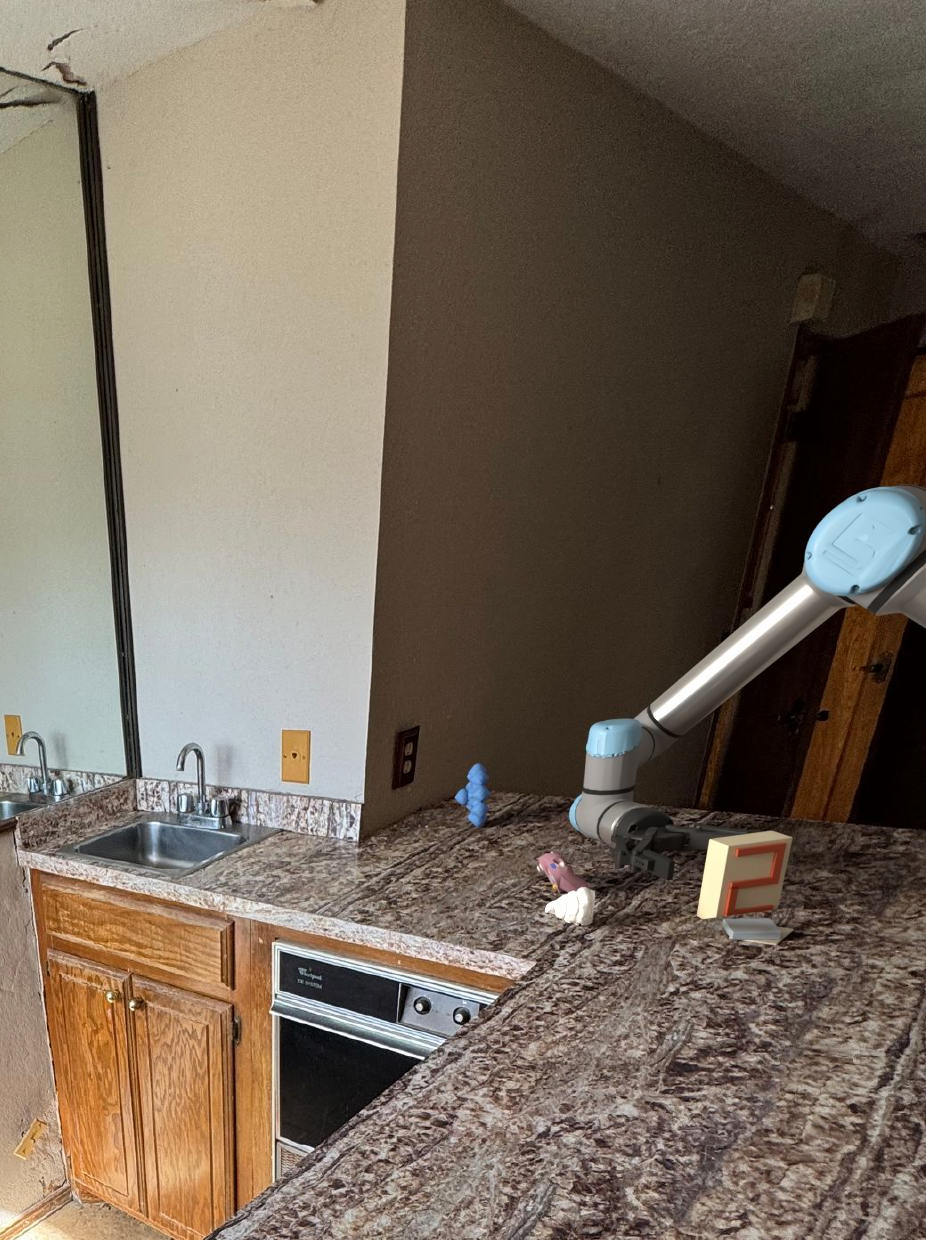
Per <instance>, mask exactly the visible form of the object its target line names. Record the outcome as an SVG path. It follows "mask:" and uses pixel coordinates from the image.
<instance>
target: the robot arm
mask: <svg viewBox="0 0 926 1240" xmlns="http://www.w3.org/2000/svg"><path fill="white" fill-rule="evenodd" d="M857 605H860V606H861V607H862V608H864V609H866V610H867V611H868V612H870V613H872V614H874V615H875V616H877V617H880V616H885V615H886V616H887V615H892V614H903V615H904V616H906V618H909V619H910V620H912V621H914V622H915V623H917V624H918V625H920V626H922V627H923V628H924V629H926V488H925V487H923V486H920V485H915V484H908V483H907V484H905V483H903V484H894V485H889V486H878V487H873V488H869V489H866V490H863V491H859V492H857V493H856V494H854V495H852V496H850V497H848V498H847V499H845V500H844V501H843V502H841V503H839V504H838V505H836V506H835V508H833V509H832V510H830V512H829V513H827V514H826V515H825V516H824V517H823V518H822V520H821V521H820V522H819V523H818V524H817V525H816V527H815V528H814V530H813V531H812V534H811V535H810V537H809V539H808V541H807V544H806V548H805V551H804V562H803V567H802V571H801V573H800V574H799V575H798V576H797V577H795V579H794V580H792V581H791V582H790V583H789V584H788V585H787V586H785V587H784V588H783V589H782V590H781V591H780V592H778V594H776V595H775V596H774V597H773V598H771V600H769V601H768V602H767V603H766V604H765V605H764V606H762V607H761V608H760V609H759V610H758V611H757V612H756V613H754V614H753V615H752V616H751V617H750V618H748V619H747V620H746V621H745V622H744V623H743V624H742V625H740V626H739V627H738V628H737V629H736V630H734V631H733V633H731V634H730V635H729V636H728V637H726V639H724V640H723V641H722V642H720V644H718V646H716V647H715V648H714V649H712V650H711V652H709V653H708V654H707V655H706V656H705V657H703V658H702V659H701V660H700V661H699V662H698V663H696V664H695V665H694V666H692V668H691V669H690V670H688V672H686V673H685V674H684V675H683V676H682V677H680V678H679V679H678V680H677V681H676V682H675V683H673V684H672V685H671V686H670V687H669V688H668V689H667V690H665V691H664V692H663V693H662V694H661V695H660V696H658V697H657V698H656V699H655V700H653V702H651V704H650V705H648V706H647V707H645V708H644V709H643V710H642V711H641V712H640V713H639V714H638V715H637V716H635V717H634V718H614V719H606V720H603V721H599V722H598V721H597V722H595V723H594V724H592V725H591V726H590V729H589V732H588V738H587V743H586V746H585V750H586V754H585V767H584V777H583V787H582V788H583V789H582V791H581V794H580V795H578V796H577V797H576V798H575V799H574V801H573V803H572V805H571V806H570V809H569V812H568V817H569V823H570V824H571V825H572V827H573V828H574V830H577V831H578V832H580V833H581V834H582V835H584V836H586V837H588V838H591V839H594V840H597V841H599V842H602V843H604V844H605V845H608V846H609V852H610V853H611V854H613V856H614V857H613V858H614V868H615V869H624V868H625V866H629V870H628V872H629V873H631V874H637V873H639V872H640V869H641V870H642V871H645V872H648V873H650V874H652V875H654V876H656V877H658V878H661V879H662V880H665V881H673V880H674V879H673V878H674V872H675V865H676V860H674V859H672V858H669V857H667V856H665V855H662V854H660V853H661V852H668V853H673V852H685V853H691V852H693V851H695V850H703V851H708V845H709V840H710V839H714V838H721V837H729V836H736V835H743V834H750V833H758V832H759V831H758V830H757V831H755V830H753V829H751V828H750V829H748V830H747V829H739V828H731V827H725V826H723V827H722V826H716V825H715V826H714V825H710V824H705V823H701V822H696V823H694V825H693V827H692V826H689V827H688V826H680V825H679V824H675V822H674V821H673V819H672V817H671V816H670V815H669V814H667V813H666V812H664V811H661V810H659V809H656V808H653V807H651V806H648V805H645V804H642V803H638V802H635V801H633V800H634V795H635V794H634V793H635V787H636V780H637V770H638V769H639V768H641V767H642V766H644V765H646V764H647V763H649V762H652V761H655V760H656V759H658V758H659V757H661V756H662V755H663V754H664V753H666V752H667V751H668V749H669V748H670V746H672V745H673V744H674V743H675V742H677V741H678V740H679V739H681V738H682V737H683V736H684V735H685V734H686V733H687V732H689V731H690V730H691V729H693V727H695V726H696V725H698V724H699V723H700V722H701V721H702V720H704V719H705V718H706V717H707V716H709V715H710V714H711V713H713V712H714V711H715V710H716V709H717V708H719V707H720V706H721V705H722V704H724V703H725V702H726V701H728V700H729V699H730V698H731V697H732V696H734V695H735V694H736V693H737V692H738V691H740V690H741V689H742V688H743V687H745V686H746V685H747V684H748V683H750V682H751V681H753V679H754V678H756V677H757V676H758V675H760V674H761V673H763V671H765V670H766V669H767V668H768V667H770V666H771V665H772V664H773V663H775V662H776V661H777V660H778V659H780V658H781V657H782V656H784V655H785V654H786V653H787V652H788V651H789V650H791V649H792V648H793V647H794V646H796V645H797V644H799V642H801V641H802V640H803V639H804V638H806V637H807V636H808V635H809V634H810V633H812V632H813V631H814V630H815V629H817V628H818V627H820V625H822V624H823V623H825V621H827V620H828V619H829V618H831V617H832V616H833V615H834V614H835V613H836V612H838V611H839V610H841V609H843V608H851V607H853V608H854V607H856V606H857ZM687 840H688V845H685V844H686V842H687Z"/></svg>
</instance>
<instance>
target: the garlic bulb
mask: <svg viewBox="0 0 926 1240" xmlns="http://www.w3.org/2000/svg"><path fill="white" fill-rule="evenodd" d="M595 902H596V890H593V889H591V888H590V889H588V888H587V887H581V888H579V889H578V891H571V892H569V893H568V892H567V893H564V894H563V895H561V896H560V897H558V898H557V899H556V900H552V901H549V902H548V903H547V904H546V906H545V909H544V910H545V913H546V914H548V913H549V914H552V915H555V917H556V918H558V919H560V920H561V919H562V920H564V922H566V923H568V924H574V925H576V926H578V927H579V926H580V925H581V926H584V927H585V926H589V925H591V924H592V923H593V920H594V913H595Z"/></svg>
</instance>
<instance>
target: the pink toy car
mask: <svg viewBox="0 0 926 1240" xmlns="http://www.w3.org/2000/svg"><path fill="white" fill-rule="evenodd" d="M537 860H538V864H539V865H537V866H536V869H537V871H538V872H539V873H542V872H543V873H544V874H545V875H546V877H547V878H548V880H549V882H550V883H551V885H552V888H553V890H556V891H557V892H558V893H559V894H561V893H562V892H564V891H565V892H566V893H567V894H568V893H569V892H571V891H578V889H579V888H581V887H587V888H588V889H591V887H590V885H589V883H588V882H587V881H586V880H584V879H582V878H581V877H580V876H578V875H576V874H575V871H574V869H573V867H571V866H570V865H569V864H567V861H566V858H565V856H564V855H562V854H560V853H557V852H553V851H551V852H550V853H548V852H547V853H544V854H542V855H541V856H539V857H538V858H537Z"/></svg>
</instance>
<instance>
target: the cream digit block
mask: <svg viewBox="0 0 926 1240" xmlns="http://www.w3.org/2000/svg"><path fill="white" fill-rule="evenodd" d="M792 843H793V837H792V836H789V835H786V834H784V833H781V832H777V831H774V830H766V831H758V833H750V834H743V835H736V836H729V837H721V838H714V839H710V840H709V845H708V850H706V851H707V852H706V857H705V858H706V859H705V864H704V868H703V869H704V870H703V875H702V882H701V887H700V893H699V900H698V906H697V910H696V911H697V912H696V917H698V918H699V919H701V920H707V919H714V918H722V917H729V916H736V915H737V916H739V915H745V914H752V913H759V912H767V911H775V910H779V905H780V901H781V895H782V890H783V886H784V881H785V877H786V872H787V867H788V861H789V858H790V852H791V847H792Z"/></svg>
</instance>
